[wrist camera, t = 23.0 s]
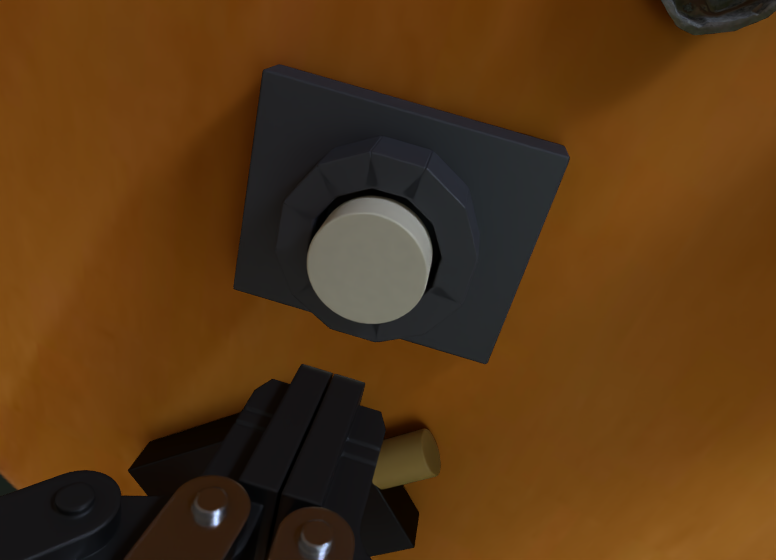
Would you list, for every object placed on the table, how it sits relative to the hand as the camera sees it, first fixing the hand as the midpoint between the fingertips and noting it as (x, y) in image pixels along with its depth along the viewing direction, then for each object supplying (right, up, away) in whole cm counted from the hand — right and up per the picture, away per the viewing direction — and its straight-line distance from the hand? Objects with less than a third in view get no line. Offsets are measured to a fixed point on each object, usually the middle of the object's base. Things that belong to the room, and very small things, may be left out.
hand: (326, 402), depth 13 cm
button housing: (+2, +5, +10) cm, 12 cm away
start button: (+1, +4, +7) cm, 8 cm away
